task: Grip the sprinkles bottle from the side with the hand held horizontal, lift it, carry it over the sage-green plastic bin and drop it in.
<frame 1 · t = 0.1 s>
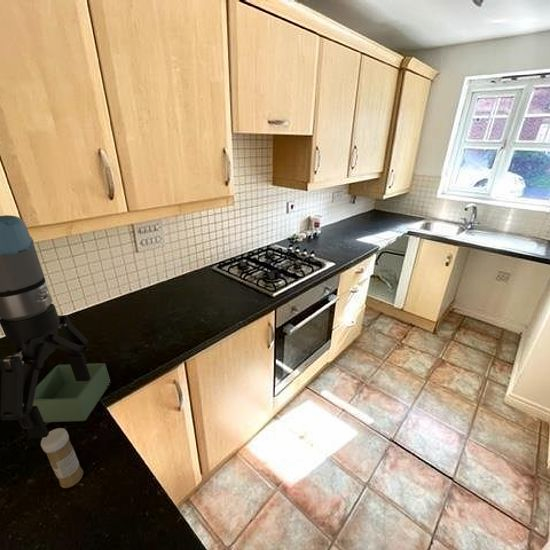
hand: (64, 405, 59), 22 cm above the countertop, tool pointing down, fingers open, 13 cm apart
bin: (74, 400, 88), on the countertop
sprinkles bottle: (72, 479, 68), on the countertop
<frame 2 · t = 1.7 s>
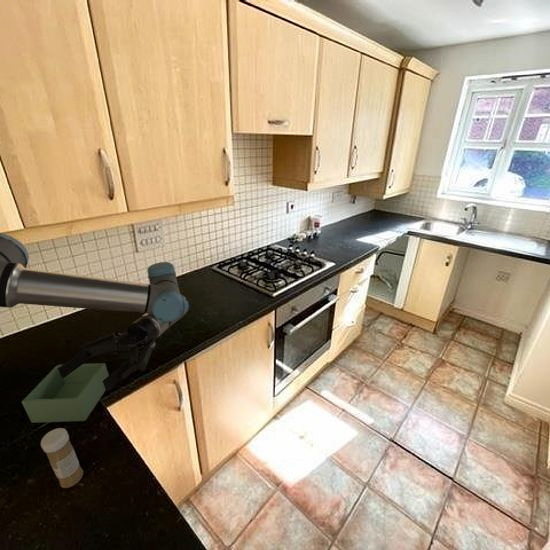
hand: (82, 379, 67), 21 cm above the countertop, tool horizontal, fingers open, 13 cm apart
nothing on the countertop moved.
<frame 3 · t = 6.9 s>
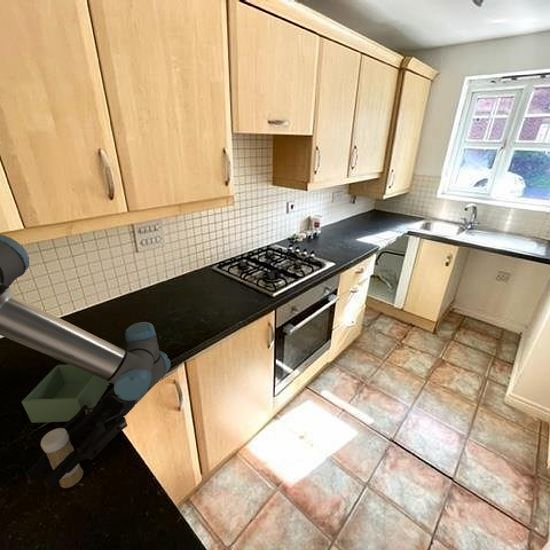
hand: (37, 481, 60), 7 cm above the countertop, tool horizontal, fingers closed on sprinkles bottle, 4 cm apart
sprinkles bottle: (72, 479, 68), on the countertop, touching gripper
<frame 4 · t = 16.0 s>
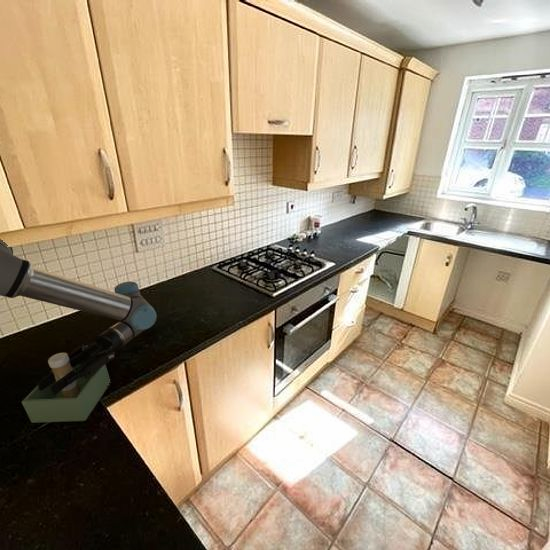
hand: (46, 388, 80), 10 cm above the countertop, tool horizontal, fingers closed on sprinkles bottle, 4 cm apart
sprinkles bottle: (72, 394, 88), point 2 cm above the countertop, touching gripper
when the fingers open (12 cm above the countertop, at t = 25.2 s): sprinkles bottle drops 4 cm, resting on bin.
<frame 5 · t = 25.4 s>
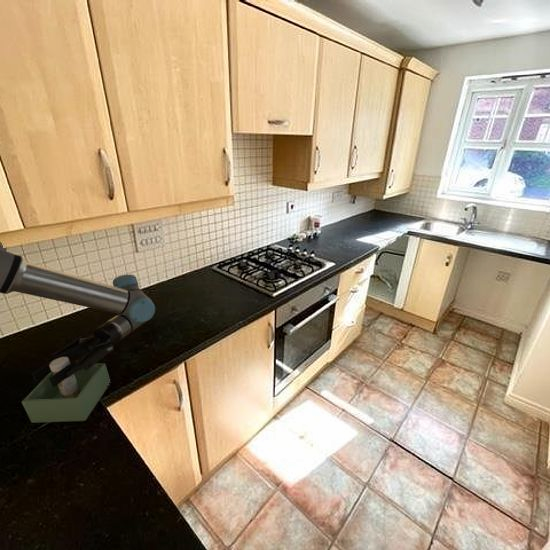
hand: (43, 379, 79), 12 cm above the countertop, tool horizontal, fingers open, 6 cm apart
sprinkles bottle: (74, 399, 88), point 1 cm above the countertop, touching bin, gripper
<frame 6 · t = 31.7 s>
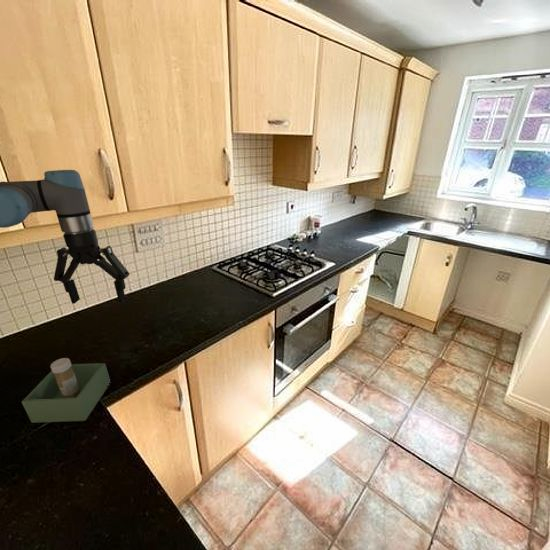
hand: (99, 300, 89), 27 cm above the countertop, tool pointing down, fingers open, 13 cm apart
sprinkles bottle: (74, 399, 88), resting on bin
at the end: sprinkles bottle inside the target area in the bin (0.1 cm from its centre), point 0.4 cm above the bin's base; the gripper is holding nothing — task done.
